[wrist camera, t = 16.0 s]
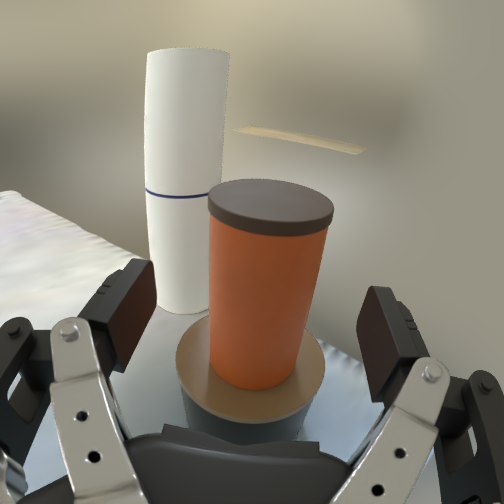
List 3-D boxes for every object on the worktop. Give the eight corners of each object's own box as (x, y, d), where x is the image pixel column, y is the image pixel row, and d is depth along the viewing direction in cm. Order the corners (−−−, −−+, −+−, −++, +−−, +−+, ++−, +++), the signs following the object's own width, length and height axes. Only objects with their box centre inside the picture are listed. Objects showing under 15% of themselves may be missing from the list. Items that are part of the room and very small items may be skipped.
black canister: (160, 414, 20) (144, 358, 17) (233, 351, 27) (236, 291, 23) (259, 485, 16) (274, 449, 12) (322, 400, 22) (346, 343, 19)
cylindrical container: (145, 307, 31) (132, 52, 18) (167, 272, 37) (165, 59, 25) (209, 319, 30) (220, 46, 18) (222, 280, 37) (236, 58, 24)
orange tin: (189, 359, 17) (180, 195, 12) (243, 315, 21) (255, 172, 16) (264, 408, 14) (298, 236, 10) (311, 350, 18) (350, 199, 14)
